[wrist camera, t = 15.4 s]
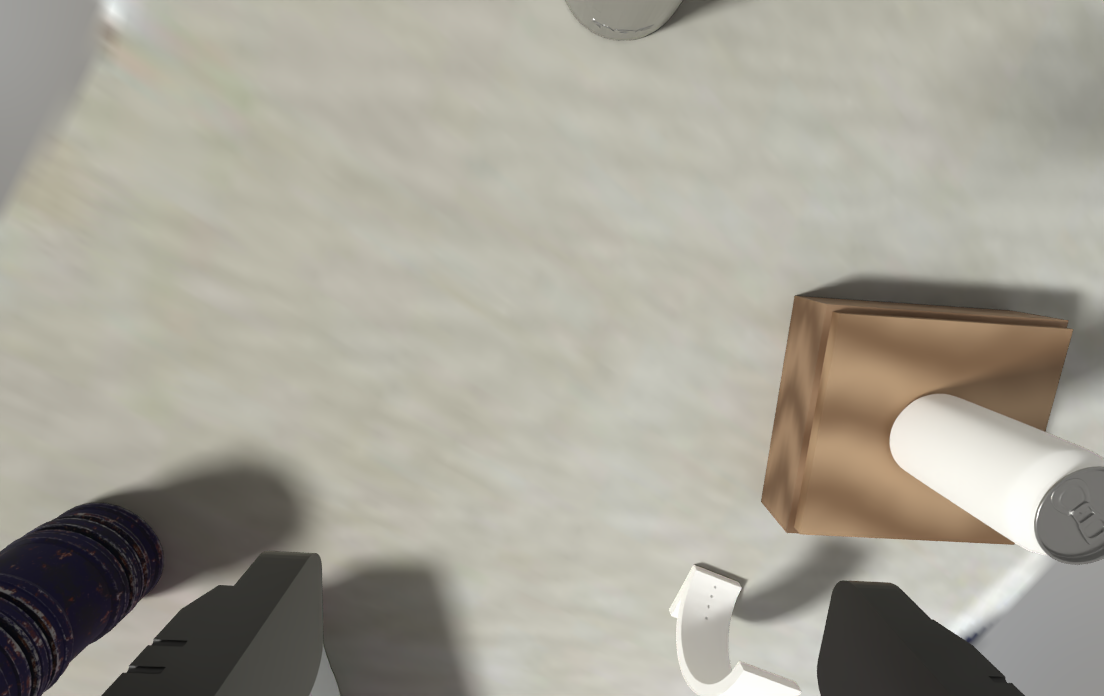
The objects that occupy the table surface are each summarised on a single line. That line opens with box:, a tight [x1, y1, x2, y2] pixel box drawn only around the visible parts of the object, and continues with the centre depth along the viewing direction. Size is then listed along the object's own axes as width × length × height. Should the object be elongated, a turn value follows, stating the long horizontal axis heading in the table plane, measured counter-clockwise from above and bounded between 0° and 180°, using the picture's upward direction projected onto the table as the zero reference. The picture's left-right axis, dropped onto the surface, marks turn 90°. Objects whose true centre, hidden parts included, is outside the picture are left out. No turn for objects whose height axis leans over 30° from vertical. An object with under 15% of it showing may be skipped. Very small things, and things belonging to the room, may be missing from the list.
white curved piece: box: [669, 565, 801, 696], centre depth 44 cm, size 5×6×12 cm
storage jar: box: [0, 503, 164, 696], centre depth 38 cm, size 10×10×18 cm
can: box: [890, 394, 1104, 565], centre depth 35 cm, size 6×6×12 cm
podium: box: [761, 296, 1073, 545], centre depth 43 cm, size 18×18×6 cm
